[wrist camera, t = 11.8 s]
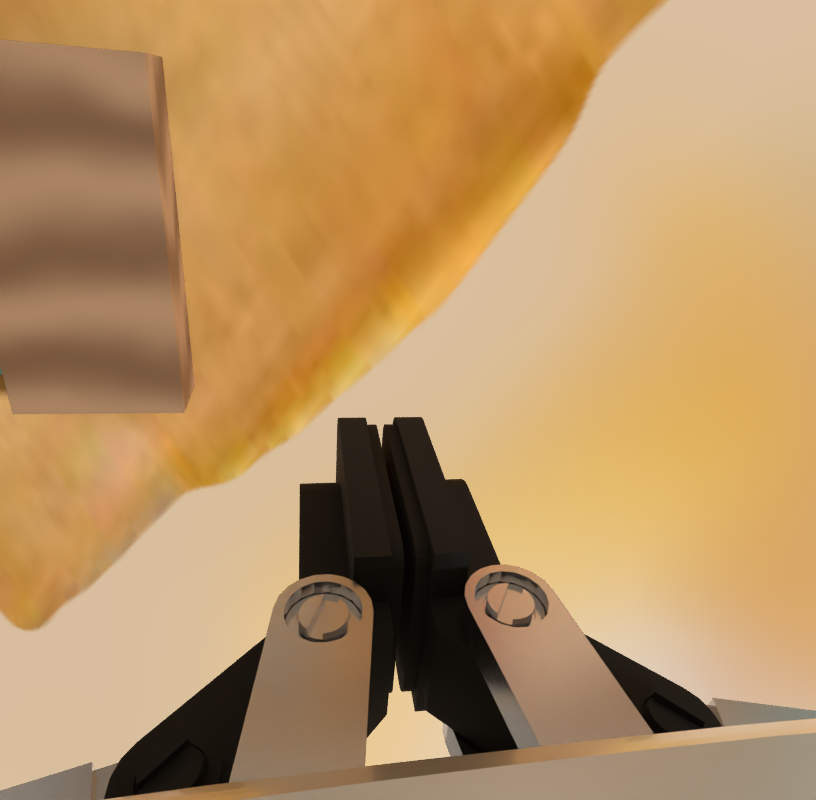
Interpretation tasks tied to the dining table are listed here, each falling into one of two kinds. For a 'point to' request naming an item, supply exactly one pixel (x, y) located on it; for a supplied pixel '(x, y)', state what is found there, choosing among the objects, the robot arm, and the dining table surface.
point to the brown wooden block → (89, 235)
